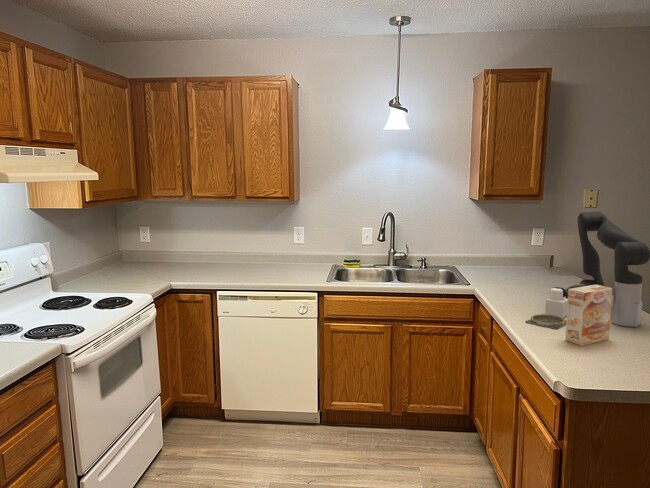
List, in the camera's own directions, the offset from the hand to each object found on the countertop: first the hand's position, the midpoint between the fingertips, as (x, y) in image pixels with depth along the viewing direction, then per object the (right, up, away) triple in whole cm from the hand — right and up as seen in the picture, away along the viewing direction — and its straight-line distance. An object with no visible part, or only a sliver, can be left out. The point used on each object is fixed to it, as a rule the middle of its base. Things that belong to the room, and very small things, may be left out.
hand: (561, 299), depth 204 cm
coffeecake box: (-7, -11, -32) cm, 35 cm away
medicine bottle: (-3, -7, -2) cm, 8 cm away
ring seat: (-12, -8, -12) cm, 18 cm away
